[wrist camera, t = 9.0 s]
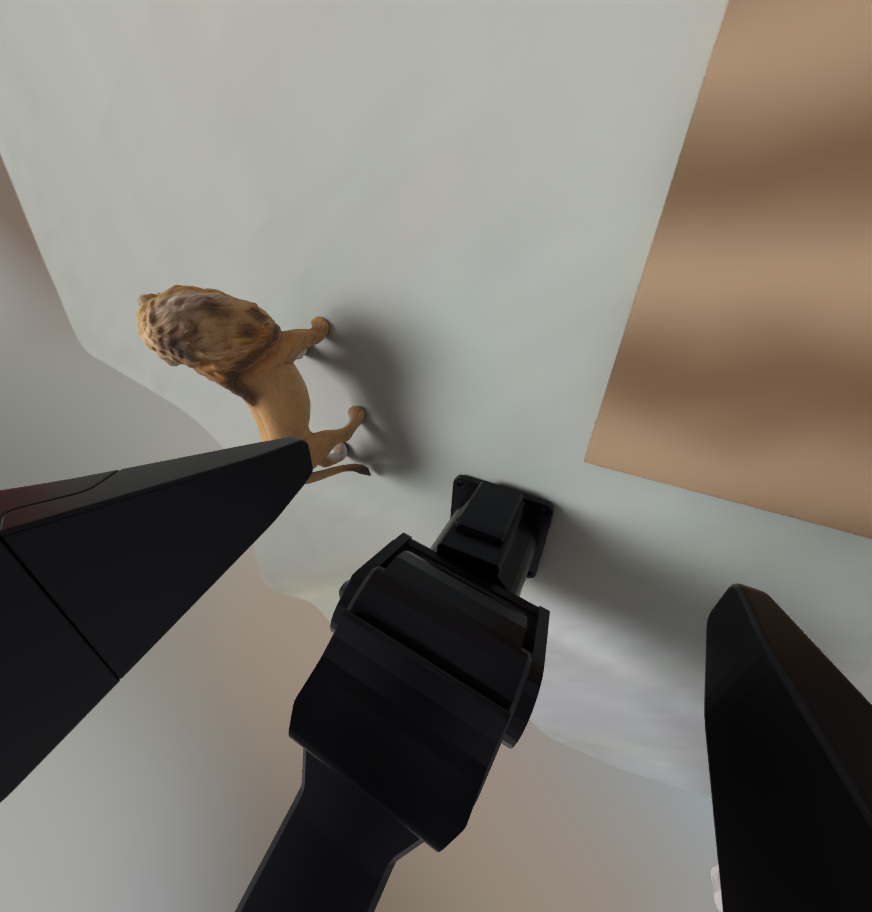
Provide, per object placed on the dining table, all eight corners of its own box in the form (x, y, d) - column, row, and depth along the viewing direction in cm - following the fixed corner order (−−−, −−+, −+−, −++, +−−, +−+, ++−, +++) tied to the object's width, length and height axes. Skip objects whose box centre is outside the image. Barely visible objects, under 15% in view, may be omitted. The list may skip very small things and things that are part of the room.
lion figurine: (252, 293, 25) (102, 316, 18) (298, 255, 22) (138, 266, 15) (352, 475, 29) (262, 550, 22) (402, 465, 26) (316, 548, 19)
